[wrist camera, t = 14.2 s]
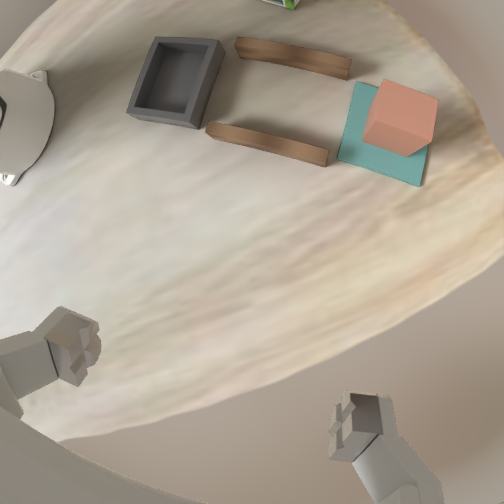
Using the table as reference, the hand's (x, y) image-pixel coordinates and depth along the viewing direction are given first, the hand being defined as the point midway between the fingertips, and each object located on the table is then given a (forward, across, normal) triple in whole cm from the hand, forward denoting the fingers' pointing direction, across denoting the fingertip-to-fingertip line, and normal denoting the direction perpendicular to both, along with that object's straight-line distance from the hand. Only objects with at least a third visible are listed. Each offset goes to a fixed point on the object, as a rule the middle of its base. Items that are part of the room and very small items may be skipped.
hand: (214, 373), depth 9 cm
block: (+27, -10, -8) cm, 30 cm away
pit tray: (+30, +14, -8) cm, 34 cm away
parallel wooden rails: (+28, +2, -8) cm, 30 cm away
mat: (+27, -10, -8) cm, 30 cm away
